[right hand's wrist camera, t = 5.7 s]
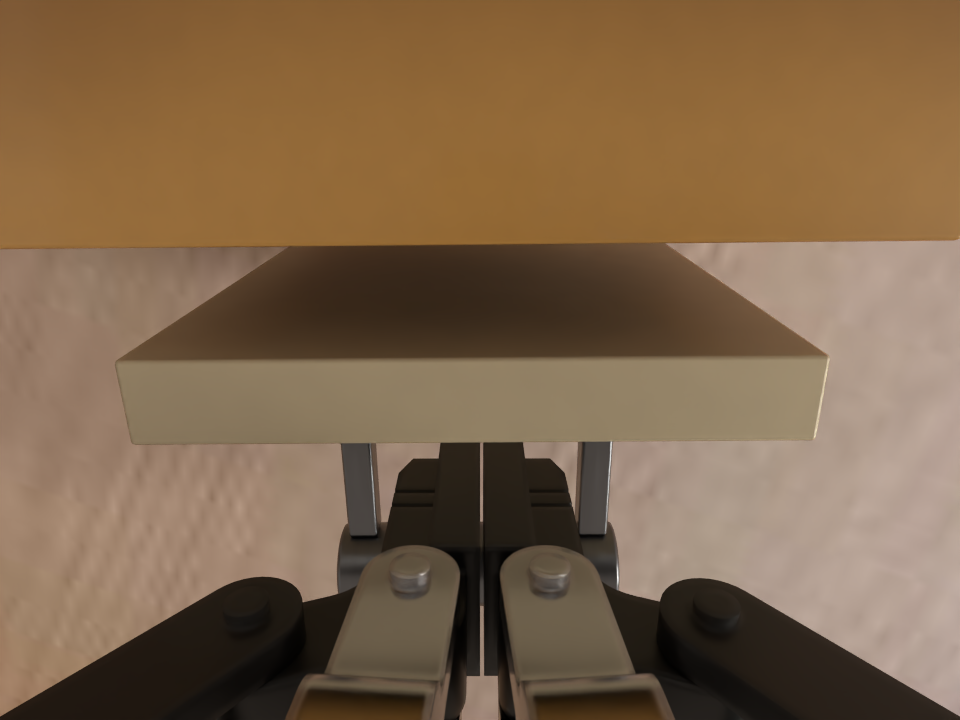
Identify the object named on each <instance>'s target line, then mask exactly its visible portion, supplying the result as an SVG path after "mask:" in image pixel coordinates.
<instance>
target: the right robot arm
mask: <svg viewBox="0 0 960 720" xmlns="http://www.w3.org/2000/svg"><path fill="white" fill-rule="evenodd" d="M483 572H484V676H498V720H960V716H958V715H956V714H954V713H953V712H951V711H949V710H948V709H946V708H944V707H942V706H941V705H939V704H937V703H936V702H934V701H932V700H930V699H929V698H927V697H925V696H924V695H922V694H920V693H918V692H917V691H915V690H913V689H912V688H910V687H908V686H906V685H905V684H903V683H901V682H900V681H898V680H896V679H895V678H893V677H891V676H889V675H888V674H886V673H884V672H883V671H881V670H879V669H877V668H876V667H874V666H872V665H871V664H869V663H867V662H865V661H864V660H862V659H860V658H859V657H857V656H855V655H853V654H852V653H850V652H848V651H847V650H845V649H843V648H841V647H840V646H838V645H836V644H835V643H833V642H831V641H829V640H828V639H826V638H824V637H823V636H821V635H819V634H817V633H816V632H814V631H812V630H811V629H809V628H807V627H806V626H804V625H802V624H800V623H799V622H797V621H795V620H794V619H792V618H790V617H788V616H787V615H785V614H783V613H782V612H780V611H778V610H776V609H775V608H773V607H771V606H770V605H768V604H766V603H764V602H763V601H761V600H759V599H758V598H756V597H754V596H752V595H751V594H749V593H747V592H746V591H744V590H742V589H740V588H738V587H736V586H733V585H731V584H728V583H725V582H722V581H718V580H712V579H704V578H694V579H686V580H682V581H679V582H676V583H674V584H672V585H671V586H669V587H668V588H667V589H666V590H665V591H664V593H663V594H662V597H661V599H660V602H659V601H654V600H650V599H646V598H641V597H637V596H633V595H629V594H626V593H623V592H621V591H618V590H616V589H614V588H612V587H610V586H608V585H607V584H605V583H604V582H602V581H601V579H600V576H599V574H598V571H597V570H596V568H595V566H594V565H593V564H592V563H591V562H590V561H589V560H588V559H587V558H586V557H584V553H583V549H582V545H581V541H580V536H579V532H578V528H577V524H576V519H575V515H574V511H573V507H572V502H571V498H570V494H569V492H568V485H567V481H566V477H565V473H564V472H563V471H562V470H561V469H560V468H559V467H558V466H557V465H556V464H555V463H554V462H553V461H552V460H551V459H525V456H524V448H523V442H483ZM467 676H480V442H458V443H441V444H440V452H439V459H413V460H412V461H411V462H410V463H409V464H408V465H407V466H406V467H405V468H404V469H403V470H401V471H400V472H399V475H398V479H397V484H396V488H395V493H394V497H393V502H392V507H391V510H390V515H389V519H388V524H387V528H386V533H385V537H384V541H383V546H382V550H381V554H379V555H377V556H376V557H374V558H373V559H372V560H371V561H370V562H369V563H368V564H367V565H366V566H365V568H364V570H363V571H362V574H361V576H360V579H359V582H358V584H357V586H355V587H353V588H351V589H349V590H347V591H345V592H342V593H340V594H336V595H333V596H329V597H325V598H320V599H316V600H312V601H307V602H303V603H302V597H301V594H300V592H299V591H298V589H297V588H296V587H295V586H294V585H292V584H291V583H289V582H287V581H285V580H282V579H279V578H273V577H253V578H248V579H243V580H239V581H236V582H233V583H231V584H228V585H226V586H224V587H222V588H220V589H218V590H216V591H214V592H213V593H211V594H209V595H208V596H206V597H204V598H202V599H201V600H199V601H197V602H196V603H194V604H192V605H190V606H189V607H187V608H185V609H184V610H182V611H180V612H178V613H177V614H175V615H173V616H172V617H170V618H168V619H166V620H165V621H163V622H161V623H160V624H158V625H156V626H154V627H153V628H151V629H149V630H148V631H146V632H144V633H143V634H141V635H139V636H137V637H136V638H134V639H132V640H131V641H129V642H127V643H125V644H124V645H122V646H120V647H119V648H117V649H115V650H113V651H112V652H110V653H108V654H107V655H105V656H103V657H101V658H100V659H98V660H96V661H95V662H93V663H91V664H89V665H88V666H86V667H84V668H83V669H81V670H79V671H77V672H76V673H74V674H72V675H71V676H69V677H67V678H66V679H64V680H62V681H60V682H59V683H57V684H55V685H54V686H52V687H50V688H48V689H47V690H45V691H43V692H42V693H40V694H38V695H36V696H35V697H33V698H31V699H30V700H28V701H26V702H24V703H23V704H21V705H19V706H18V707H16V708H14V709H12V710H11V711H9V712H7V713H6V714H4V715H2V716H0V720H462V709H463V707H464V704H465V700H466V679H467Z"/></svg>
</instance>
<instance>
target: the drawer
mask: <svg viewBox="0 0 960 720" xmlns="http://www.w3.org/2000/svg"><path fill="white" fill-rule="evenodd" d="M829 361H830V359H829V355H827V354H826V353H824V352H823V351H821V350H820V349H819V348H817V347H816V346H814V345H813V344H811V343H810V342H808V341H807V340H805V339H804V338H802V337H801V336H800V335H798V334H797V333H795V332H794V331H792V330H791V329H789V328H788V327H786V326H785V325H783V324H782V323H781V322H779V321H778V320H776V319H775V318H773V317H772V316H770V315H769V314H767V313H766V312H764V311H763V310H762V309H760V308H759V307H757V306H756V305H754V304H753V303H751V302H750V301H748V300H747V299H745V298H744V297H743V296H741V295H740V294H738V293H737V292H735V291H734V290H732V289H731V288H729V287H728V286H726V285H725V284H724V283H722V282H721V281H719V280H718V279H716V278H715V277H713V276H712V275H710V274H709V273H707V272H706V271H705V270H703V269H702V268H700V267H699V266H697V265H696V264H694V263H693V262H691V261H690V260H688V259H687V258H686V257H684V256H683V255H681V254H680V253H678V252H677V251H675V250H674V249H672V248H671V247H669V246H668V245H667V244H665V243H623V244H513V245H402V246H291V247H288V248H287V249H285V250H284V251H282V252H281V253H279V254H278V255H276V256H275V257H273V258H272V259H270V260H268V261H267V262H265V263H264V264H262V265H261V266H259V267H258V268H256V269H255V270H253V271H252V272H250V273H249V274H247V275H246V276H244V277H243V278H241V279H240V280H238V281H237V282H235V283H234V284H232V285H231V286H229V287H227V288H226V289H224V290H223V291H221V292H220V293H218V294H217V295H215V296H214V297H212V298H211V299H209V300H208V301H206V302H205V303H203V304H202V305H200V306H199V307H197V308H196V309H194V310H193V311H191V312H190V313H188V314H186V315H185V316H183V317H182V318H180V319H179V320H177V321H176V322H174V323H173V324H171V325H170V326H168V327H167V328H165V329H164V330H162V331H161V332H159V333H158V334H156V335H155V336H153V337H152V338H150V339H149V340H147V341H146V342H144V343H142V344H141V345H139V346H138V347H136V348H135V349H133V350H132V351H130V352H129V353H127V354H126V355H124V356H123V357H121V358H120V359H118V360H117V361H116V362H115V368H116V372H117V377H118V382H119V386H120V391H121V396H122V401H123V405H124V410H125V415H126V419H127V424H128V429H129V433H130V438H131V442H132V444H135V445H162V444H310V443H341V451H342V462H343V473H344V484H345V495H346V506H347V517H348V524H346V525H345V527H344V530H343V532H342V535H341V539H340V544H339V550H338V560H337V587H338V594H340V593H342V592H345V591H347V590H349V589H351V588H353V587H355V586H357V584H358V582H359V579H360V576H361V574H362V571H363V570H364V568H365V566H366V565H367V564H368V563H369V562H370V561H371V560H372V559H373V558H374V557H376V556H377V555H379V554H381V550H382V546H383V541H384V537H385V533H386V528H387V524H388V522H381V509H380V495H379V481H378V467H377V453H376V443H458V442H578V457H577V479H576V501H575V519H576V524H577V528H578V532H579V536H580V541H581V545H582V549H583V553H584V557H586V558H587V559H588V560H589V561H590V562H591V563H592V564H593V565H594V566H595V568H596V570H597V571H598V574H599V576H600V579H601V581H602V582H604V583H605V584H607V585H608V586H610V587H612V588H614V589H616V590H618V591H619V558H618V549H617V542H616V537H615V533H614V530H613V527H612V525H611V523H610V522H607V521H608V505H609V490H610V475H611V460H612V444H613V441H755V440H813V439H815V437H816V432H817V427H818V421H819V416H820V410H821V405H822V399H823V394H824V388H825V383H826V377H827V372H828V366H829ZM480 606H484V572H483V522H480Z"/></svg>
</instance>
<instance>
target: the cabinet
mask: <svg viewBox="0 0 960 720" xmlns="http://www.w3.org/2000/svg"><path fill="white" fill-rule="evenodd" d="M957 239H960V0H0V249H64V248H175V247H285V246H396V245H507V244H618V243H728V242H839V241H950V240H957Z"/></svg>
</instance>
